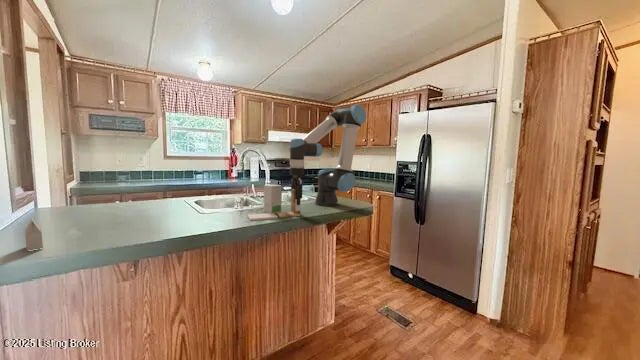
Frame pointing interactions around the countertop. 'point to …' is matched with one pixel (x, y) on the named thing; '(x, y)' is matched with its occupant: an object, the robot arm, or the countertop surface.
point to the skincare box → (272, 198)
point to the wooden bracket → (293, 212)
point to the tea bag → (33, 236)
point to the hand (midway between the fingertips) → (296, 209)
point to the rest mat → (262, 216)
